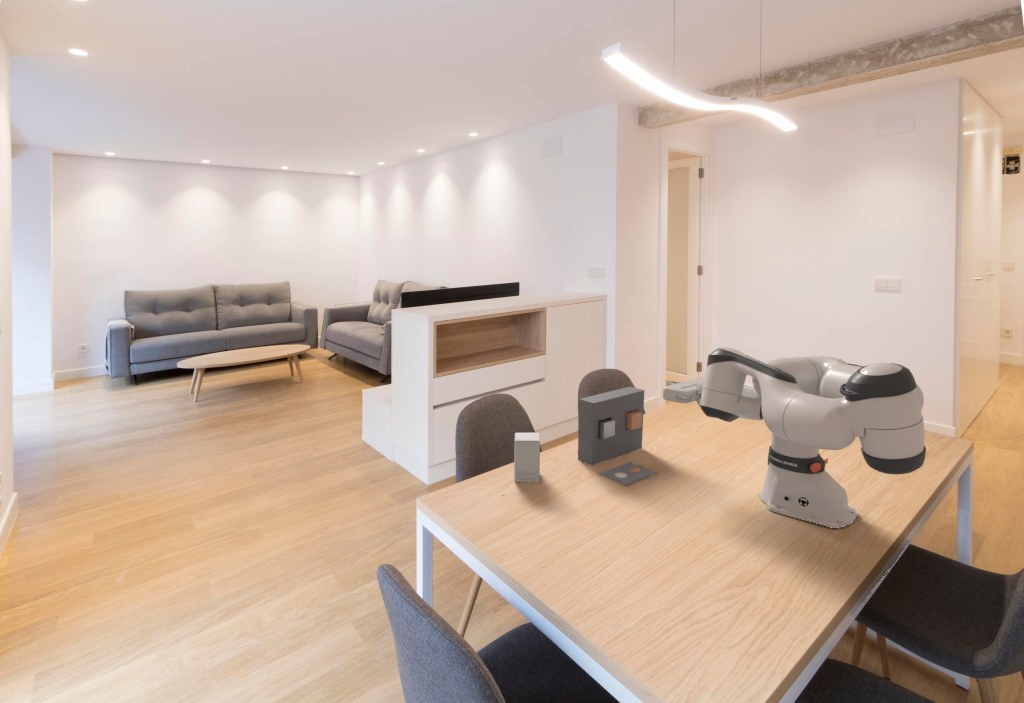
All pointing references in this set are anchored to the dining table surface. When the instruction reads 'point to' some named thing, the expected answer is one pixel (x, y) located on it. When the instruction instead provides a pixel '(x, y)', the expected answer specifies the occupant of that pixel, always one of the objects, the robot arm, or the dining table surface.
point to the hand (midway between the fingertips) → (669, 384)
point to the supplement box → (527, 457)
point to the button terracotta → (633, 420)
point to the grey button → (606, 428)
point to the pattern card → (627, 473)
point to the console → (616, 409)
